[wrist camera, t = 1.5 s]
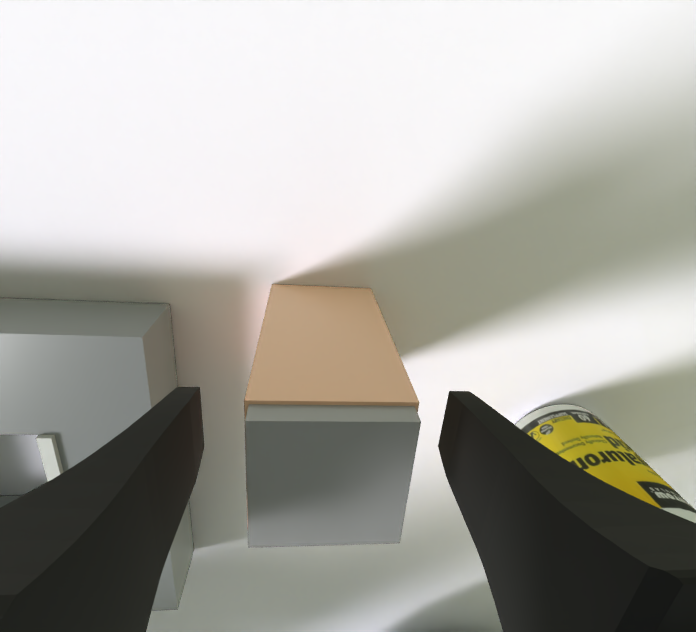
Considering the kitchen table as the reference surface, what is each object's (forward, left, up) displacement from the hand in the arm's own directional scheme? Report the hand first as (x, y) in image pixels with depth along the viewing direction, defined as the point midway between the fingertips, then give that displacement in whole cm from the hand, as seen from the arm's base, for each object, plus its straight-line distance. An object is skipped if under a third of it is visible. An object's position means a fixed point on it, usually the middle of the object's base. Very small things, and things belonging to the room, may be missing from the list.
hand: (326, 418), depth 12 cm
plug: (0, 0, -6) cm, 6 cm away
